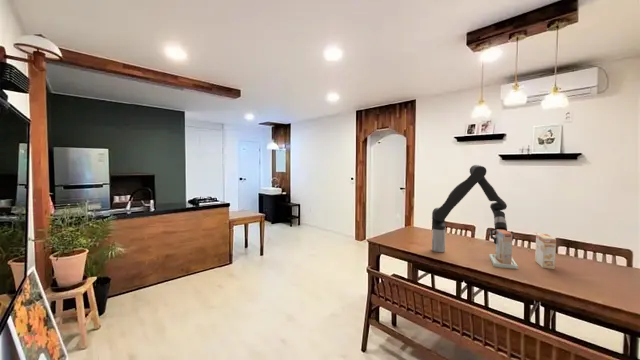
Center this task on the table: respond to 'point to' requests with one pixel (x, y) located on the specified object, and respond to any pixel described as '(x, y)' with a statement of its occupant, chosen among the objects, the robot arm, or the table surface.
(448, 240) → the table surface
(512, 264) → the sage tray
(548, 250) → the coffeecake box
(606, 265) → the table surface
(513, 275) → the table surface
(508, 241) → the cracker box
